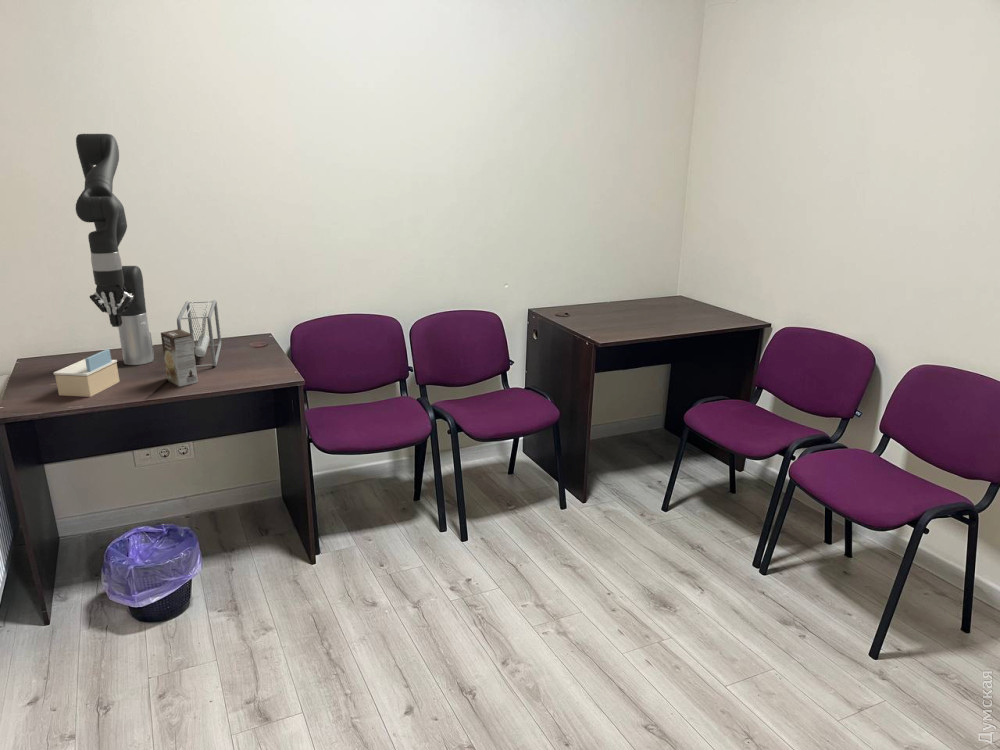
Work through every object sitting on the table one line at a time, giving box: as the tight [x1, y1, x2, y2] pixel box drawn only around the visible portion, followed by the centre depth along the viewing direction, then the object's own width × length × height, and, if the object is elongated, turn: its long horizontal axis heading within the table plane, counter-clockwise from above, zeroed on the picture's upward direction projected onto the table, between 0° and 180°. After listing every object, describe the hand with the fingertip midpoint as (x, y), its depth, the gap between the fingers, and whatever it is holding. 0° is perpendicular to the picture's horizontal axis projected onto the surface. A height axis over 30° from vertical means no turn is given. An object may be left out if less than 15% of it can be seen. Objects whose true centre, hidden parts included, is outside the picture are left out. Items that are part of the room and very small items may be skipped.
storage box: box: [54, 362, 121, 398], centre depth 214 cm, size 14×10×7 cm
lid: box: [53, 348, 118, 376], centre depth 212 cm, size 14×10×5 cm
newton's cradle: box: [176, 299, 222, 368], centre depth 248 cm, size 30×10×18 cm, turn 17°
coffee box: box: [160, 328, 199, 388], centre depth 222 cm, size 9×6×16 cm
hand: (116, 326), depth 208 cm, fingers closed
